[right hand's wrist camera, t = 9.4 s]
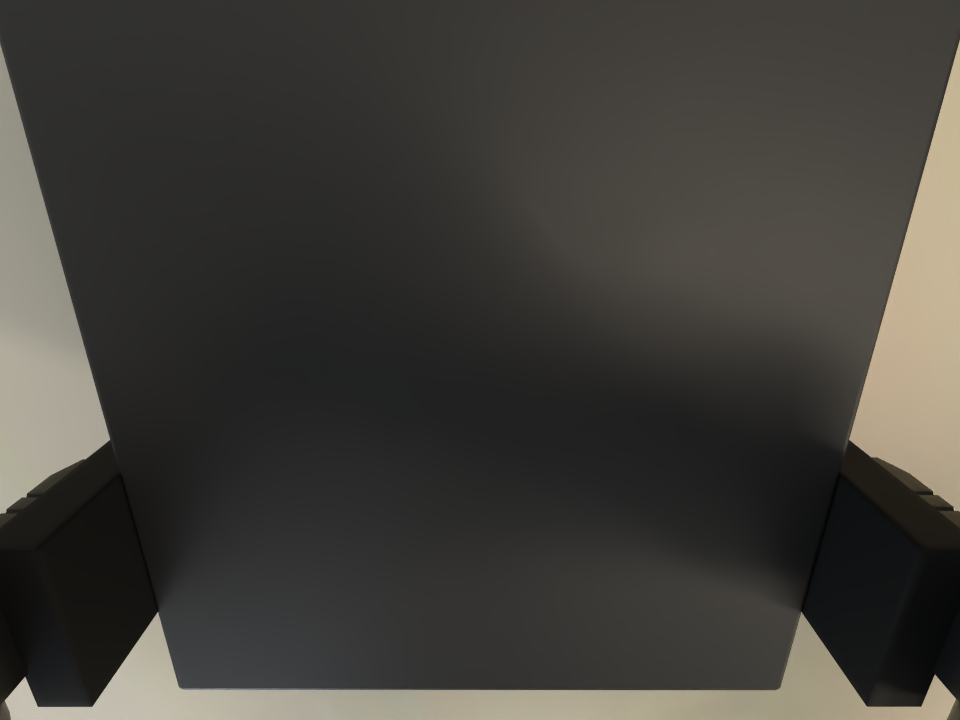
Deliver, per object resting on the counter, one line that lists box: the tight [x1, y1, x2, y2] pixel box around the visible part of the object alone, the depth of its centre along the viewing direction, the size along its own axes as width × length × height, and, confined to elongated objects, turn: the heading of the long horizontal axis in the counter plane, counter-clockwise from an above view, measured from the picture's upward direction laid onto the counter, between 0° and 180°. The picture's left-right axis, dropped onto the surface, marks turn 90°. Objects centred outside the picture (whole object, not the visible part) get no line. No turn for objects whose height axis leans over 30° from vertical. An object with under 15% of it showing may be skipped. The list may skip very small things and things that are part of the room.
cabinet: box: [0, 0, 960, 690], centre depth 10 cm, size 19×11×8 cm, turn 0°
